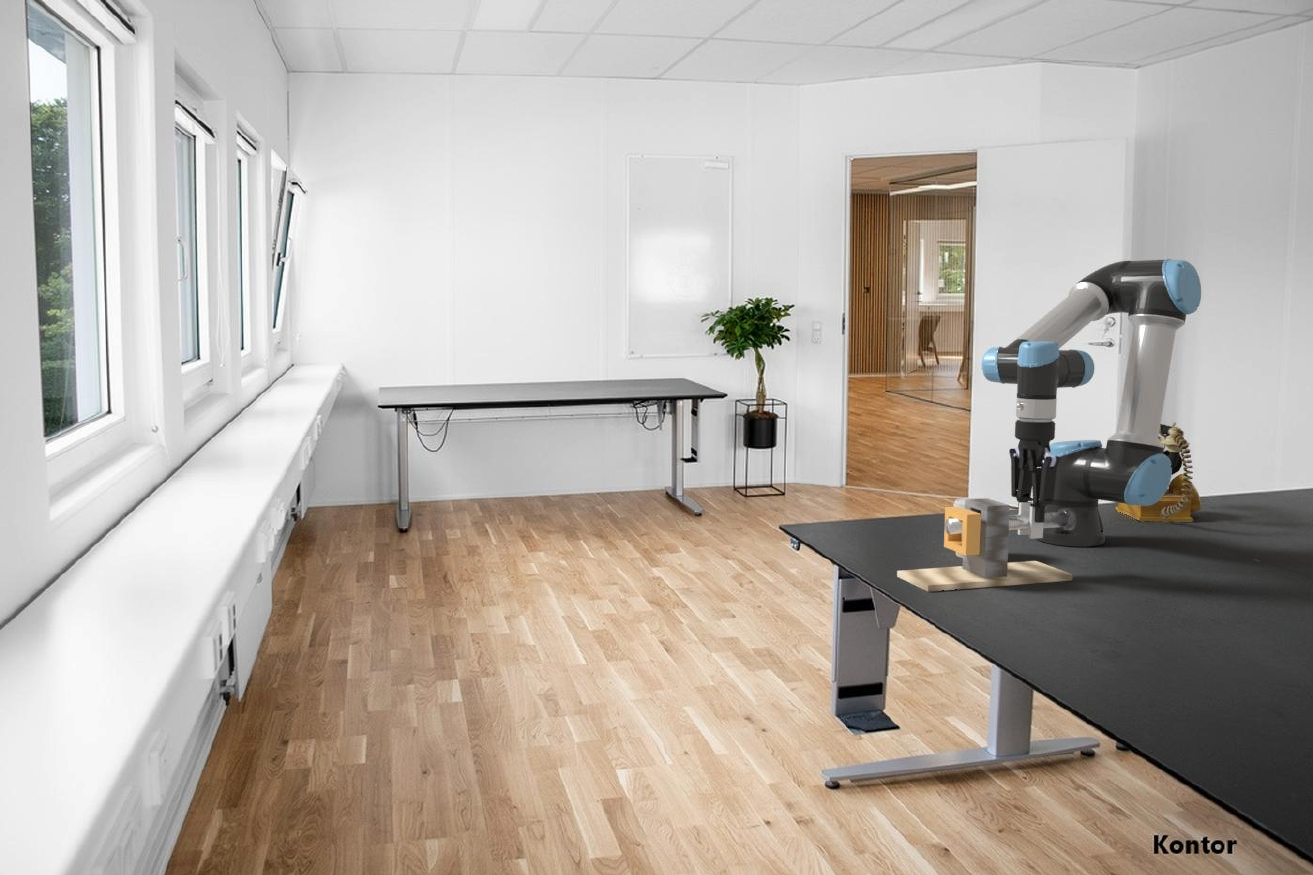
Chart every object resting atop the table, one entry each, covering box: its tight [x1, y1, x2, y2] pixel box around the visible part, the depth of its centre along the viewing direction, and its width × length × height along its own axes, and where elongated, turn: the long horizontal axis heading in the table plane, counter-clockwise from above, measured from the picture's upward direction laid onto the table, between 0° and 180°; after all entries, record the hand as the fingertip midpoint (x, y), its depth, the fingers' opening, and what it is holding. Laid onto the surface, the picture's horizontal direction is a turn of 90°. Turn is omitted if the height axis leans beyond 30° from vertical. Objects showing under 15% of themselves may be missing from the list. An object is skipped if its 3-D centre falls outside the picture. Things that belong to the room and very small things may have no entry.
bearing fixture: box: [896, 497, 1073, 593], centre depth 220 cm, size 32×12×15 cm, turn 106°
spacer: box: [943, 506, 981, 555], centre depth 218 cm, size 3×8×8 cm, turn 16°
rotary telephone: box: [1115, 421, 1203, 522], centre depth 279 cm, size 35×18×25 cm, turn 178°
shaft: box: [944, 508, 1077, 534], centre depth 221 cm, size 28×4×4 cm, turn 106°
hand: (1030, 535), depth 223 cm, fingers closed on shaft, 3 cm apart
